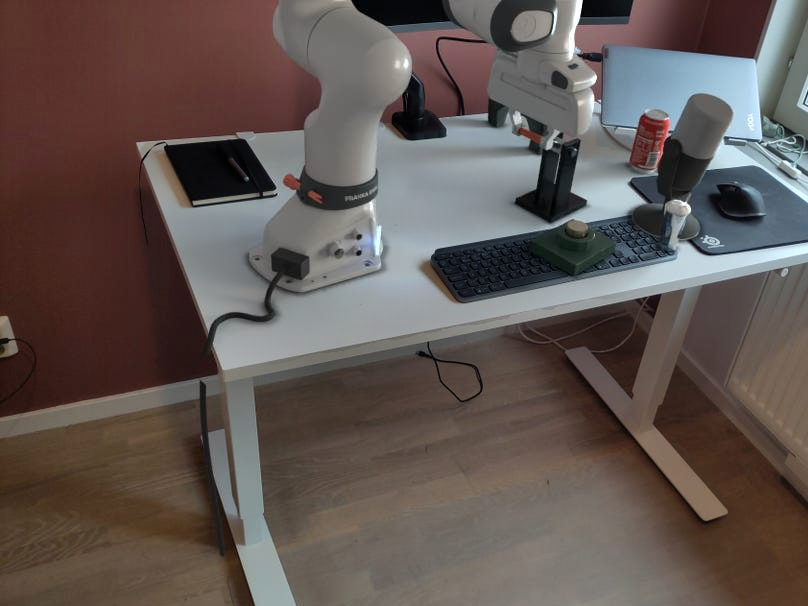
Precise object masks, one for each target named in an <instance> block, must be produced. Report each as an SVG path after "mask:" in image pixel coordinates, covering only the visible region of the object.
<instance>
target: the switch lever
mask: <svg viewBox="0 0 808 606" xmlns="http://www.w3.org/2000/svg"><path fill="white" fill-rule="evenodd" d="M519 134H520V136H523V137H524V138H527V139H529V140H530V139H531V140H533V141H535V142H537V143H539V144H540V139H541V138H542V136H539V135H537V134H535V133H533V132H531V131H530V130H529V129H527V128H526V127H525V128H521V129H520V131H519ZM566 142H568V141H567V140H565V139H560V138H557V137H556V138H555V140H554V141H553V145H552V148H551V150H552V151H554V152H556V153H558V154H560V153H561V148H562V144H564V143H566Z"/></svg>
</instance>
